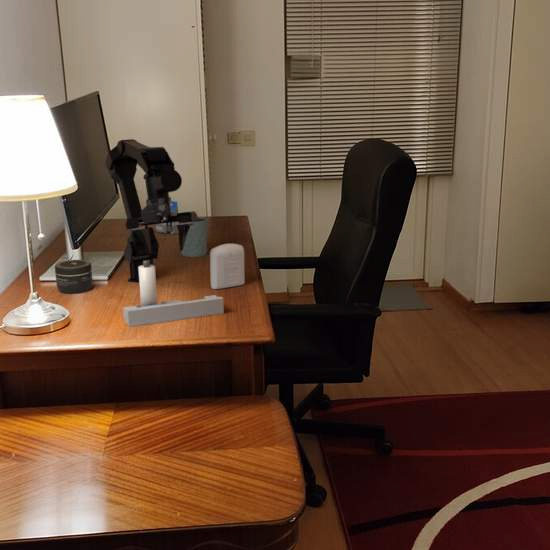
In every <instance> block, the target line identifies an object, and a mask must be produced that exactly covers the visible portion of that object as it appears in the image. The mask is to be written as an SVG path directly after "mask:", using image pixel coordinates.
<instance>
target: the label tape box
mask: <svg viewBox="0 0 550 550" xmlns="http://www.w3.org/2000/svg"><path fill="white" fill-rule="evenodd" d="M170 207H171V212H173V216H176V215H177V213H179V206H178V201H175V200H171V201H170ZM163 219H164V220H165V219H168V218H166V217H163ZM166 221H167V220H166ZM177 225H178V222H171V223H163V224H155V232H156V231H157V232H156V233H162V232H163V234H168V233H170V234H171V235H175V234H174V233H177V234H179V233H178V232H179V231H178V228H177Z"/></svg>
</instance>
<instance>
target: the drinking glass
mask: <svg viewBox="0 0 550 550" xmlns="http://www.w3.org/2000/svg"><path fill="white" fill-rule="evenodd" d="M197 218H198V221H195V222H192V223H193V224H194V225H191V226H190V228H189V231H188V233H187V237H186V240H185V244H184V248H183V250H182V251H181V250H180V252H181V255H182V257H183V256H184V257H188V258H197V257H204V256H206V255H207V253H208V244H207V243H208V226H209V225H208V223H209V219H208V217H202V216H197ZM178 225H180V223H179V222H178Z"/></svg>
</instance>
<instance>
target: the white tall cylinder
mask: <svg viewBox="0 0 550 550" xmlns="http://www.w3.org/2000/svg"><path fill="white" fill-rule="evenodd" d="M138 268H139V282H138V283H139V297H140V305H142V306H150V305H157V304H158V297H157V296H158V295H157V294H158V293H157V292H158V291H157V277H156V276H157V275H156V265H155V266H154V265H150V260H144V261H143V265H141V266H139V267H138Z"/></svg>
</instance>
